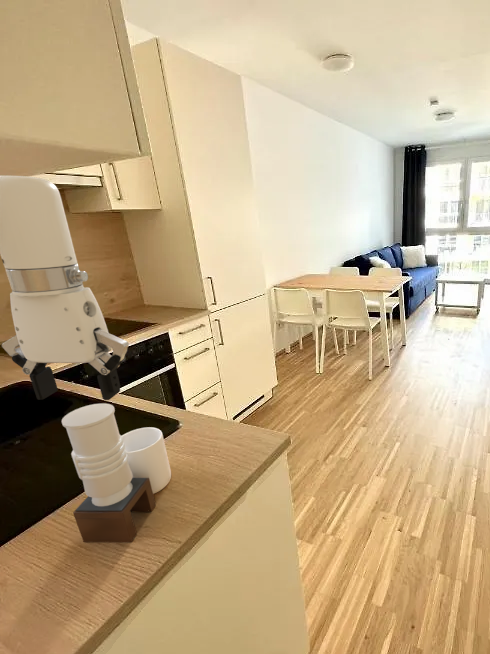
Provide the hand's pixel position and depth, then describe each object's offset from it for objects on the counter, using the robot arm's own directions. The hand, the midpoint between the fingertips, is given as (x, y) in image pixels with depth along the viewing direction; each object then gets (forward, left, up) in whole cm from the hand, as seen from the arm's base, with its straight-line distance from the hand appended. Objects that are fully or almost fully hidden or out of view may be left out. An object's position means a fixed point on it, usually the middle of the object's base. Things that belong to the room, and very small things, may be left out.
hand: (80, 395), depth 53 cm
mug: (0, +12, -25) cm, 27 cm away
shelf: (0, 0, -25) cm, 25 cm away
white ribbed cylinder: (0, 0, -18) cm, 18 cm away
